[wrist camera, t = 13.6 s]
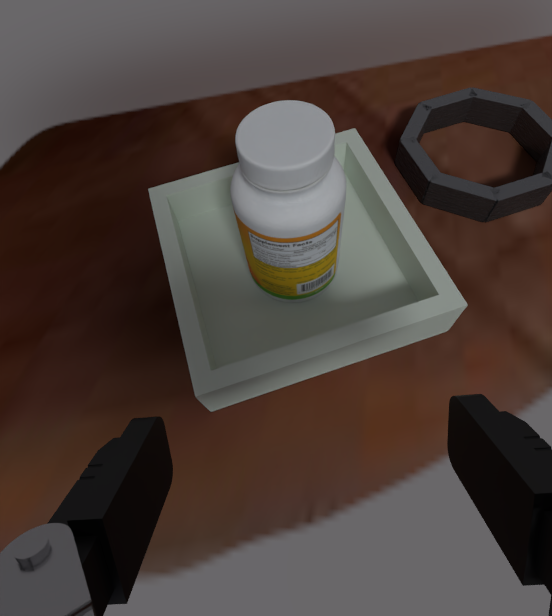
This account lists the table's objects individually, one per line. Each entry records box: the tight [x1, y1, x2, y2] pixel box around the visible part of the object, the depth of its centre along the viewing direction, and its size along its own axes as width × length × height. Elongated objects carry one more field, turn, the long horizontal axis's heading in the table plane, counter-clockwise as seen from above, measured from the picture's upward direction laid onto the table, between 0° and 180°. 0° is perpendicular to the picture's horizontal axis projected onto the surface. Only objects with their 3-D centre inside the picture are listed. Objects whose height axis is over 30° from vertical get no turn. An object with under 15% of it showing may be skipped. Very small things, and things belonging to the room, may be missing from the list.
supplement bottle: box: [230, 100, 346, 303], centre depth 20 cm, size 5×5×10 cm
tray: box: [148, 128, 467, 412], centre depth 23 cm, size 14×14×3 cm
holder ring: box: [395, 88, 552, 222], centre depth 27 cm, size 10×10×2 cm
